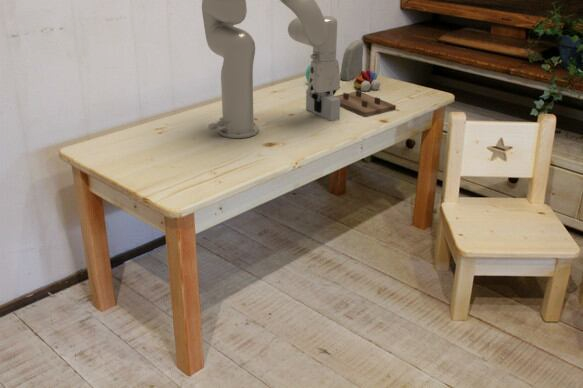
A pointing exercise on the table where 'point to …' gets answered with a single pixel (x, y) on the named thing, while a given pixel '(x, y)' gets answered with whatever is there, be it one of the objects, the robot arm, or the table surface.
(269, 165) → the table surface
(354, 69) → the decorative stone
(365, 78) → the rainbow petal toy
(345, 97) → the brown board
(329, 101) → the gray rectangular block
